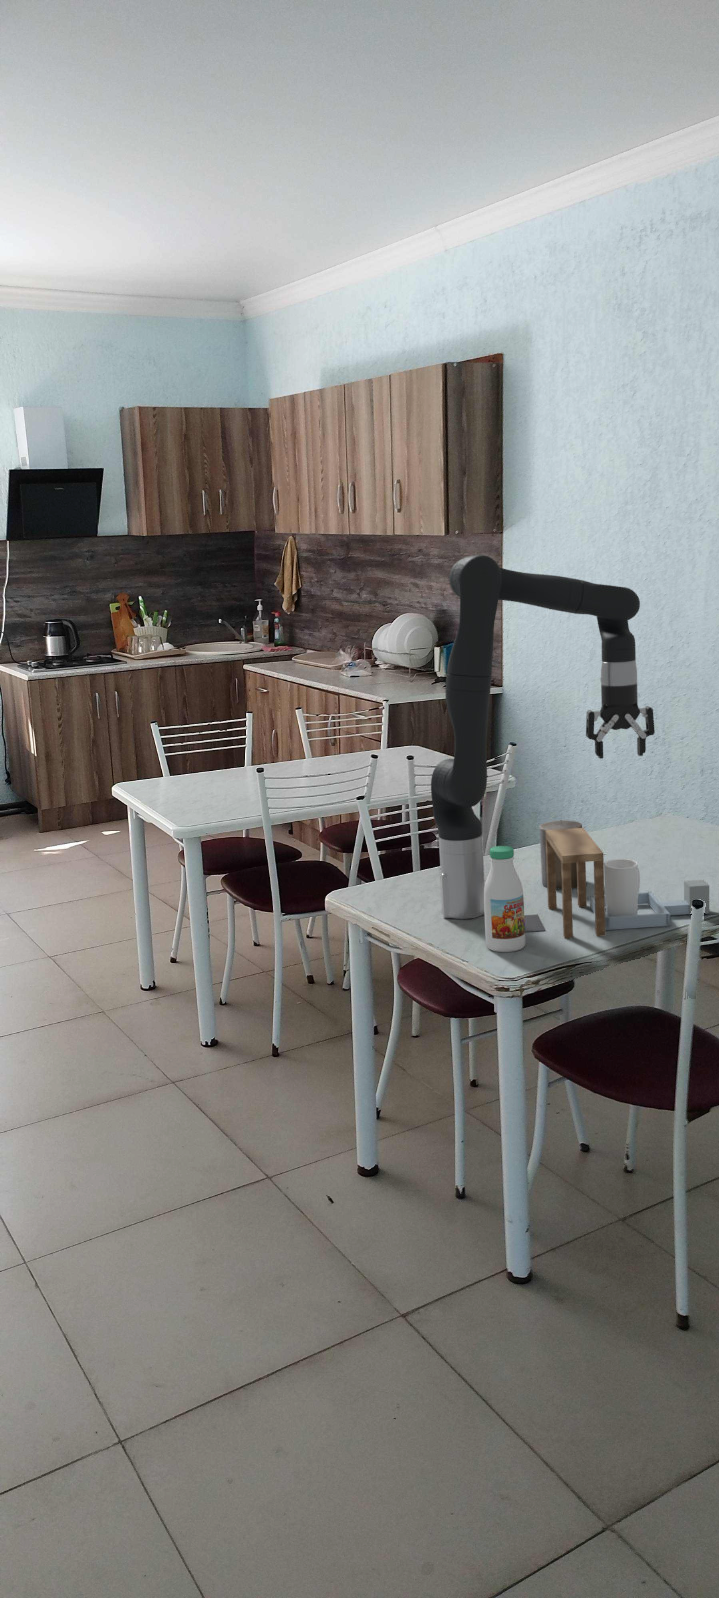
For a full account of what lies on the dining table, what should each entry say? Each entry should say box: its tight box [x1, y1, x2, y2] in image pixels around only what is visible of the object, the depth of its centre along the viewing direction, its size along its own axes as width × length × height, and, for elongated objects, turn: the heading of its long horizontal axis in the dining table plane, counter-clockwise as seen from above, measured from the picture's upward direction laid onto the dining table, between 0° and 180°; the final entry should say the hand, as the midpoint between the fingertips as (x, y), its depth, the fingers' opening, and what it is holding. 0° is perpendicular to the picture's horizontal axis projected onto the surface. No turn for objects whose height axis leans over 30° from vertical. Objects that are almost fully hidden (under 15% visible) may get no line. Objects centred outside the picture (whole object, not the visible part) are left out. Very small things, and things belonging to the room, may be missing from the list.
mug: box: [604, 858, 641, 917], centre depth 239 cm, size 10×7×12 cm, turn 135°
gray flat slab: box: [524, 914, 546, 934], centre depth 241 cm, size 6×10×1 cm, turn 1°
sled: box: [589, 879, 710, 931], centre depth 240 cm, size 22×15×6 cm, turn 91°
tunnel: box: [545, 827, 606, 939], centre depth 239 cm, size 8×20×17 cm, turn 1°
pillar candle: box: [538, 819, 583, 890], centre depth 265 cm, size 10×10×15 cm
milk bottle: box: [484, 845, 526, 953], centre depth 227 cm, size 8×8×20 cm
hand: (620, 756), depth 252 cm, fingers open, 8 cm apart
